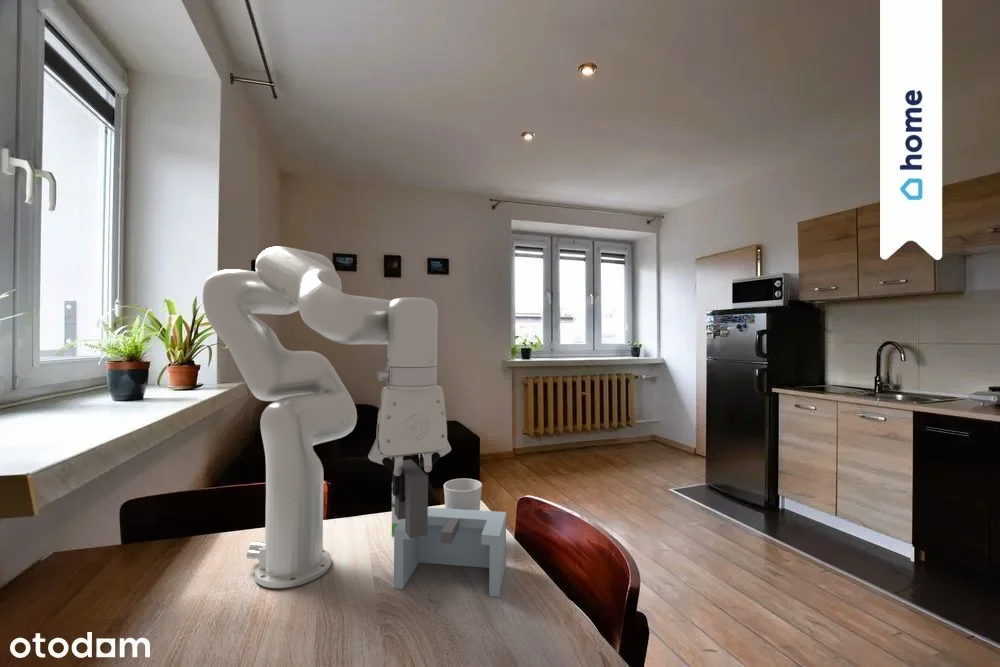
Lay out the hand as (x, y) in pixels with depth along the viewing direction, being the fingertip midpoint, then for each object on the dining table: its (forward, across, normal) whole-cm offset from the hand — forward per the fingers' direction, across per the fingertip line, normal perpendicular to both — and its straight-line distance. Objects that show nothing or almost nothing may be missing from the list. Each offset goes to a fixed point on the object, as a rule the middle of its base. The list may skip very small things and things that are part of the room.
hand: (410, 496), depth 67 cm
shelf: (+18, +10, +7) cm, 22 cm away
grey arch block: (+4, 0, 0) cm, 4 cm away
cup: (+18, +16, +18) cm, 31 cm away
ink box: (+18, +7, +30) cm, 36 cm away
